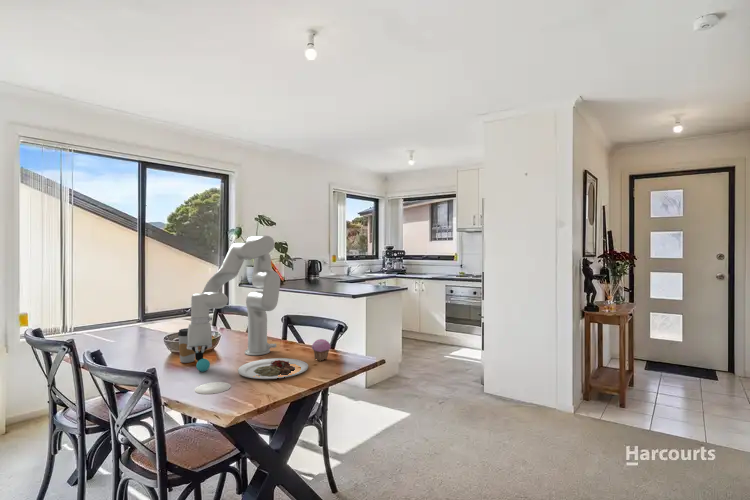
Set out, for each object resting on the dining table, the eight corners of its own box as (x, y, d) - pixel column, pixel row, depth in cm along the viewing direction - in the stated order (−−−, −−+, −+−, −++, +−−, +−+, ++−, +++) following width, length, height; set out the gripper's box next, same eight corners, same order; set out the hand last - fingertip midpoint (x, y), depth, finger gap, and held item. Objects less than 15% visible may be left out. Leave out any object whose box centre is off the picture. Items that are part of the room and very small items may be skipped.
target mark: (227, 380, 170) (227, 380, 170) (234, 390, 159) (234, 389, 159) (192, 386, 164) (192, 385, 164) (197, 396, 152) (197, 395, 152)
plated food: (236, 385, 166) (236, 376, 166) (239, 364, 195) (239, 357, 195) (312, 379, 174) (312, 371, 174) (304, 360, 203) (304, 353, 203)
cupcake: (322, 356, 208) (323, 336, 208) (334, 360, 202) (334, 339, 202) (308, 360, 202) (308, 339, 202) (319, 363, 196) (319, 342, 196)
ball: (208, 368, 187) (208, 356, 187) (210, 372, 182) (210, 359, 182) (195, 370, 184) (195, 358, 184) (197, 374, 179) (197, 361, 179)
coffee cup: (200, 359, 203) (200, 328, 203) (191, 363, 194) (191, 331, 194) (184, 358, 204) (184, 327, 203) (174, 363, 195) (174, 331, 195)
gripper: (215, 318, 197) (215, 357, 197) (181, 320, 190) (180, 361, 190) (218, 320, 191) (218, 361, 191) (182, 323, 183) (182, 365, 183)
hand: (199, 361), depth 190 cm, fingers closed
